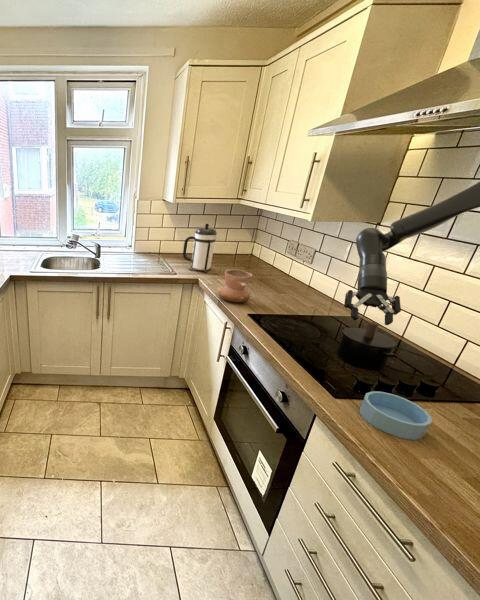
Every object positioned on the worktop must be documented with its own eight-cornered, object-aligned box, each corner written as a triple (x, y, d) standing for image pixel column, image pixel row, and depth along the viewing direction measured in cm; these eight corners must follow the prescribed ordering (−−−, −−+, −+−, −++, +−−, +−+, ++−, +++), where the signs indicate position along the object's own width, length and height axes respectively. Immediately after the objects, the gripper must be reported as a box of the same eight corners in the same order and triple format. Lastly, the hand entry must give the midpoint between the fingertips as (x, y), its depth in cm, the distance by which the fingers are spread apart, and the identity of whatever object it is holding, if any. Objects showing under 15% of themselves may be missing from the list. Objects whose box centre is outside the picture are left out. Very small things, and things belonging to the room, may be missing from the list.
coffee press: (205, 266, 215) (212, 221, 203) (216, 273, 200) (224, 225, 188) (180, 266, 214) (186, 221, 202) (189, 273, 199) (196, 225, 188)
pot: (357, 346, 116) (365, 326, 113) (401, 375, 100) (412, 352, 97) (323, 346, 117) (330, 325, 113) (361, 375, 100) (371, 352, 97)
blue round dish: (392, 404, 87) (399, 391, 86) (439, 440, 76) (447, 425, 74) (347, 404, 88) (353, 390, 86) (386, 439, 76) (393, 424, 74)
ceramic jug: (255, 306, 151) (262, 278, 145) (225, 306, 151) (230, 277, 146) (239, 293, 167) (244, 267, 162) (211, 292, 168) (216, 267, 162)
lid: (371, 330, 111) (377, 315, 109) (407, 350, 99) (415, 333, 97) (332, 330, 112) (337, 314, 109) (363, 350, 99) (370, 333, 97)
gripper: (392, 287, 111) (392, 330, 105) (342, 281, 116) (340, 321, 111) (405, 277, 104) (405, 322, 99) (351, 271, 110) (349, 313, 105)
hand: (371, 321), depth 105 cm, fingers open, 8 cm apart
